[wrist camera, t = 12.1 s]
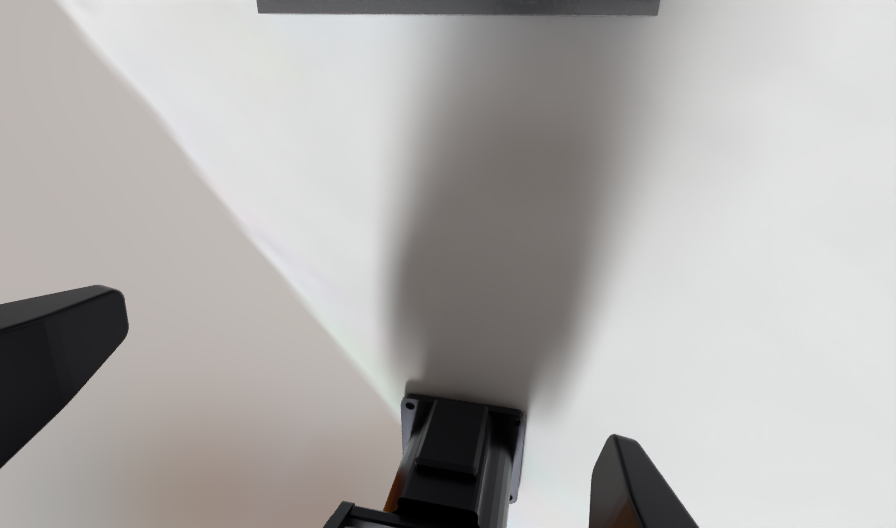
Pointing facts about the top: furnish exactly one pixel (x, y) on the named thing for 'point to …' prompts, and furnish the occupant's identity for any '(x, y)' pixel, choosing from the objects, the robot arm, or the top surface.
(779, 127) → the top surface
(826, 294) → the top surface
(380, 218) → the top surface
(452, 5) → the bottom track
